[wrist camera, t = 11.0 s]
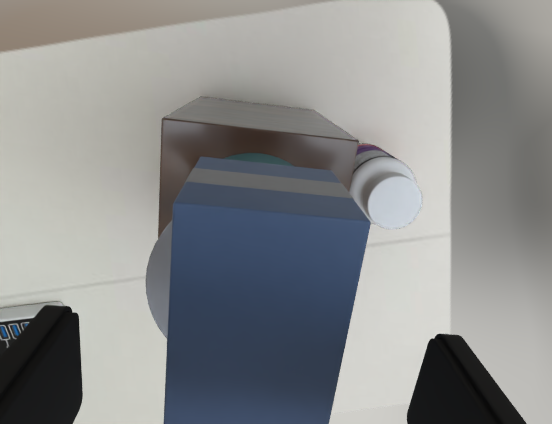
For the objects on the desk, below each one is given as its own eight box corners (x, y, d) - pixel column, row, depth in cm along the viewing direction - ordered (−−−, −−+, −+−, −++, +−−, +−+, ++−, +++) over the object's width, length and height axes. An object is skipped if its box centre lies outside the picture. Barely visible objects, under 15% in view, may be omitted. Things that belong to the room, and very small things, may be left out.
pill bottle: (394, 189, 39) (438, 226, 30) (340, 206, 39) (366, 248, 30) (382, 134, 37) (425, 156, 28) (325, 152, 38) (349, 179, 28)
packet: (199, 155, 14) (171, 201, 9) (332, 169, 14) (373, 220, 9) (184, 395, 17) (158, 521, 12) (293, 400, 17) (308, 525, 13)
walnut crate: (200, 96, 35) (161, 117, 20) (315, 110, 36) (359, 140, 21) (193, 206, 39) (156, 295, 23) (299, 216, 39) (328, 308, 24)
